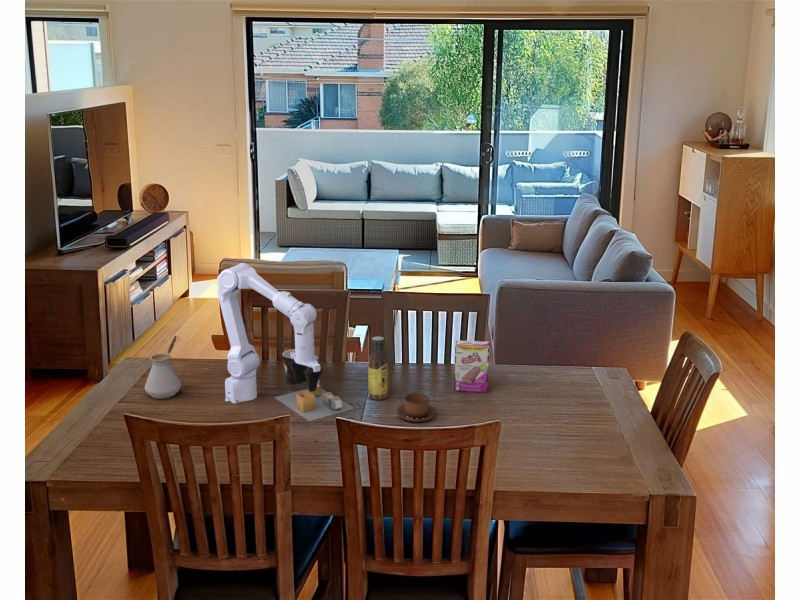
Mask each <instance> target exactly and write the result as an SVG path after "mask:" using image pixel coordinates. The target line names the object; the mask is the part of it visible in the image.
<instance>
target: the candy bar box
mask: <svg viewBox="0 0 800 600" xmlns="http://www.w3.org/2000/svg"><path fill="white" fill-rule="evenodd" d="M490 348H491V347H490V341H482V340H481V341H480V340H458V339H457V340H456V339H455V347H454V371H453V372H454V374H453V391H454V392H461V393H462V392H465V393H481V394H482V393H483V394H484V393H485V394H487V393H488V391H489V388H488V387H489V370H490V369H489V368H490V364H489V363H490Z"/></svg>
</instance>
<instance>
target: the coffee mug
mask: <svg viewBox="0 0 800 600" xmlns="http://www.w3.org/2000/svg"><path fill="white" fill-rule="evenodd" d="M291 352H295V348H293V349H287V350H285V351H283V353H282V361H283V366H284V367H283V368H284V372H285V379H286V383H287V384H288V385H296V384H297V383H296V381H295V377H294V374H293V371H292V369H291V367H290V365H289V364H288V362H290V361H292V360H293V359H291V354H290V353H291ZM305 370H308V366H305ZM305 382H307V379H306V376H305V374H304V381H303V383H305ZM297 385H298V384H297Z"/></svg>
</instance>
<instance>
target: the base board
mask: <svg viewBox="0 0 800 600" xmlns="http://www.w3.org/2000/svg"><path fill="white" fill-rule="evenodd" d="M305 391H309V389H308V388H305V389H301V390H297V391H294V392H291V393H286V394H283V395H278V396H274V399H276V400H277V401H279V402H280V403H282V404H283V405H284V406H286V407H287V408H289V409H290V410H292V411H293V412H295V414H298V415H299V416H301V418H304V419H306V420H307V421H308V422H311V421H314V420H315V421H316V420H318V419H322V418H326V417H329V416H333V415H336V414H339V413H344V412H346V411H350V410H351V411H352V410H353V409H355V407H354V406H351V405H350V404H348V403H346V402H345V401H343V400H341V401H342V407H341V408H340V409H336V410H333V411H331V410H330V409H328V404H327V403H323V398H322V394H325V393H328V391H327V390H325V389H324V388H322V387H321V395H314V397H315V410H313V411H309V412H306V413H303V412H301V411H300V410H298V409H297V396H296V394H297V393H301V392H305ZM309 392H310V391H309ZM311 393H312V392H311Z"/></svg>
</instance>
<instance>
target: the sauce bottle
mask: <svg viewBox="0 0 800 600" xmlns="http://www.w3.org/2000/svg"><path fill="white" fill-rule="evenodd" d="M388 363H389V361H388V358H387V356H386V353H385V338H384V337H382V336H379V335H378V336H373V337H371V353H370V354H369V356H368V366H367V369H368V371H367V373H368V374H367V375H368V376H367V378H368V381H367V382H368V385H367V387H368V397H369V398H370V399H371V400H374V401H375V400H377V401H380V400H384V399H386V398H387V397H388V392H389V387H388V386H389V385H388V384H389V381H388V379H389V376H388V375H389V370H388V369H389V366H388V365H389V364H388Z"/></svg>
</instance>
